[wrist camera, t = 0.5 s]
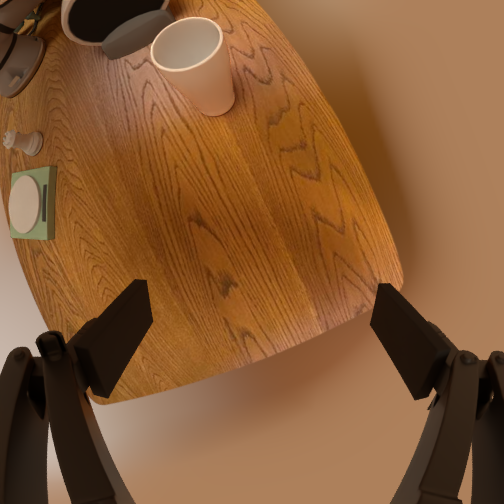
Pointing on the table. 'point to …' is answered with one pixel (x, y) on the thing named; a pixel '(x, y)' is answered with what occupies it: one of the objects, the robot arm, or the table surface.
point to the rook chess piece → (24, 141)
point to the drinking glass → (196, 63)
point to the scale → (33, 204)
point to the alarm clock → (115, 23)
